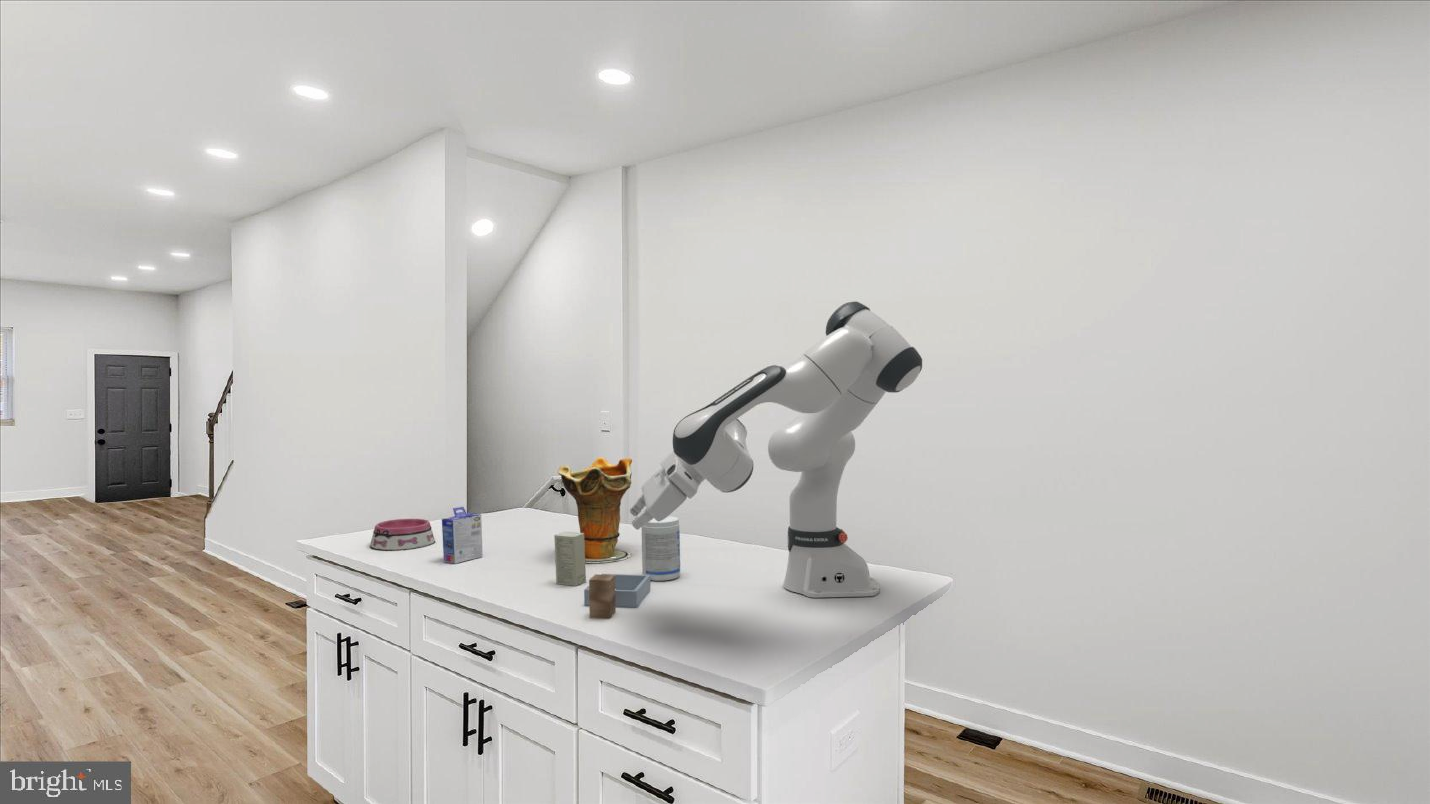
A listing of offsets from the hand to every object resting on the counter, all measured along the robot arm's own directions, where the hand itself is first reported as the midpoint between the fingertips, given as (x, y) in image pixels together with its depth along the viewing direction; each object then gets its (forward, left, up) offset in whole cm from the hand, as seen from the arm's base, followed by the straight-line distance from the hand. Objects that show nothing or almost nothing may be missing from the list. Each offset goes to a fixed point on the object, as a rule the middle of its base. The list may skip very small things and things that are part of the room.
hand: (633, 519), depth 153 cm
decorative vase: (+23, -52, -21) cm, 61 cm away
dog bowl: (+88, -61, -21) cm, 109 cm away
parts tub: (+7, -14, -21) cm, 26 cm away
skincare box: (+22, -24, -21) cm, 39 cm away
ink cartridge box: (+60, -44, -21) cm, 78 cm away
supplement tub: (+1, -32, -21) cm, 38 cm away
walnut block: (+7, -1, -21) cm, 22 cm away
